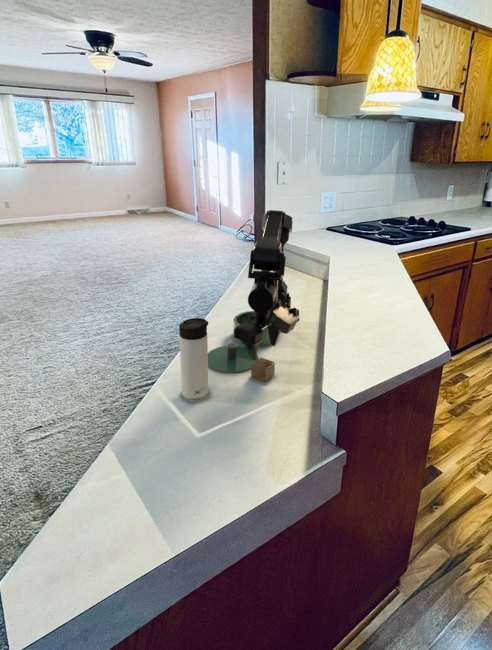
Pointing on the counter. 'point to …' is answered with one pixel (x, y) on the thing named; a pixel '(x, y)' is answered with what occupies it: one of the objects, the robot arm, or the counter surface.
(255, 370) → the block
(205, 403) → the counter surface
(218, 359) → the lid
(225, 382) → the counter surface
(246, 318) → the pot
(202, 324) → the travel mug
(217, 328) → the counter surface
